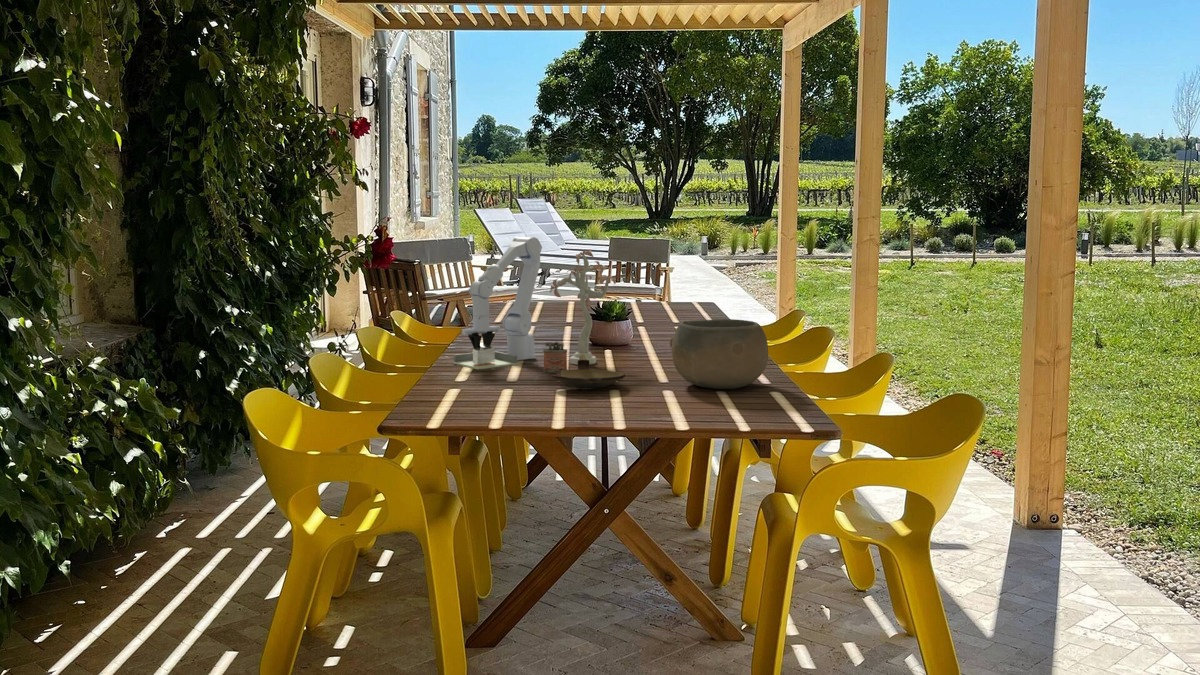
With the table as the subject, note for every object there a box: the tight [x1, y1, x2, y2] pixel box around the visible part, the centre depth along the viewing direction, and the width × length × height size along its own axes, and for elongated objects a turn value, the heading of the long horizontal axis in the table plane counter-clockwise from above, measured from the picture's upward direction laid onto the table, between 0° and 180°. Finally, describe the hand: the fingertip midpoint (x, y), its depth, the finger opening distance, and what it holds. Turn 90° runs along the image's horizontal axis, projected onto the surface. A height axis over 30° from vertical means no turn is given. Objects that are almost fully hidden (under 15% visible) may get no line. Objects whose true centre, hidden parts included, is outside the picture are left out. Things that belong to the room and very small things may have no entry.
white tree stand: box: [549, 249, 617, 366], centre depth 350 cm, size 28×24×40 cm
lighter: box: [542, 341, 568, 373], centre depth 333 cm, size 8×3×10 cm, turn 84°
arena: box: [453, 350, 518, 370], centre depth 349 cm, size 16×16×3 cm
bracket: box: [472, 342, 496, 365], centre depth 346 cm, size 9×7×5 cm
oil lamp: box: [550, 354, 626, 390], centre depth 307 cm, size 22×30×8 cm
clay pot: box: [669, 318, 769, 390], centre depth 305 cm, size 30×30×20 cm
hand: (481, 353), depth 349 cm, fingers closed on bracket, 3 cm apart
